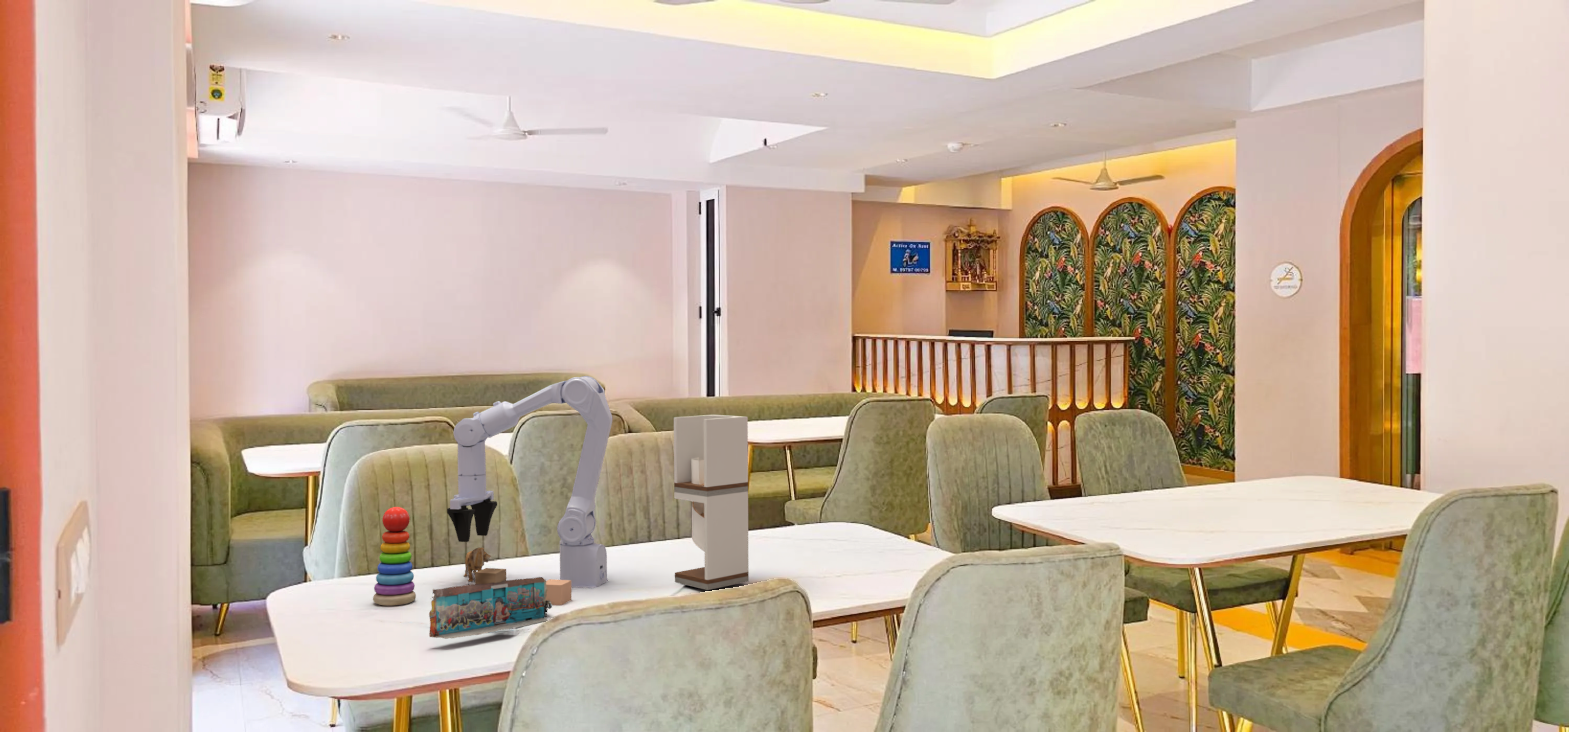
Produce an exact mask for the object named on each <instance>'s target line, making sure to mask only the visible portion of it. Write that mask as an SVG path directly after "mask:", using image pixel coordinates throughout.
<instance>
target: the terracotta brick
mask: <svg viewBox="0 0 1569 732" xmlns="http://www.w3.org/2000/svg"><path fill="white" fill-rule="evenodd" d="M546 587H547V588H546V590H548V591H547V593H546V599H545V601H546V600H550V601H551V604H552V606H554V605H555V606H563V605H564V604H567V603H568V602H570V601H572V587H571V580H560V579H552V578H551V579H548V580H546Z"/></svg>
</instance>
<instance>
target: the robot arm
mask: <svg viewBox="0 0 1569 732" xmlns="http://www.w3.org/2000/svg"><path fill="white" fill-rule="evenodd" d="M605 393H606V391H605V389H604V388H603V386H602V385H601V384H600V383H599V381H598V380H597V379H595V378H594V377H592V376H589V375H582V376H580V377H579V376H575V377H571V378H569V379H567V380H564V381H560V382H555V383H553V384H550V385H547V386H546V387H544V388H542V389H540V390H538V391H536V392H534V393H532V394H531V395H529V396H526V397H524V398H522V399H521V400H518V401H517V402H515V403H512V402H509V401H505V400H504V401H502V402H501V401H499V400H498V401H495V402H493V404H492V405H493V406H491V407H489V408H487V409H485V410H482V411H481V412H480V411H475V412H474V413H473V414H472V416H473V417H470V418H469V417H465V418H462V419H461V420H459V421H458V422H457V423H456V425H455V426H454V429H453V438H454V440H455V441H456V443H457V483H458V484H457V487H458V488H457V489H458V493H457V494H454V495H453V498H451V499H450V500H449V507H447V508H446V513H447V515H448V516H449V518H450V519H451V522H452V524H453V528H454V530H455V533H456V537H457V540H458V543H468V542H470V538H471V526H472V521H473V518H474V523H475V524H474V525H475V532H476V535H477V536H481V537H482V536H483V537H484V536H485V537H486V536H488V534H489V529H490V525H491V520H492V518H493V515H494V512H495V510H496V509H497V506H498V501H496V500H494V497H495V496H494V494H495V493H494V490H487V471H486V470H487V469H486V466H487V465H486V463H487V462H486V461H487V459H486V440H488V439H489V438H490V439H491V438H493V437H495V436H496V435H499V434H501V433H503V432H505V431H508V430H509V429H512V428H514V427H517V425H518V423H519V420H520V418H522V417H523V416H526V415H527V414H530V413H532V412H534V411H537V410H539V409H541V408H543V407H547V406H549V405H550V404H561V405H562V404H567V405H568V406H569V407H571V408H572V409H574V411H577V412H578V413H579V415H580V416H581V418H582V419H583V420H584V422H585V423H586V424H587V426H586V430H585V435H584V439H583V443H582V447H581V452H580V456H579V459H578V460H579V462H578V466H577V470H576V475H575V478H574V482H573V487H572V492H571V496H570V499H569V500H568V503H567V505H566V508H565V512H564V515H563V516H562V517H561V519H560V520H559V522H558V523H557V527H556V529H557V535H558V537H559V539H560V540H559V580H571V588H583V589H584V588H585V589H596V588H598V587H599V586H601V585H603V584H605V583H606V582H609V579H608V555H607V549H606V546H605V545H604V544H603V543H602V544H601V543H596V542H595V538H594V537H593V534H592V533H593V532H594V530H595V528H596V524H597V521H596V518H595V509H596V503H595V501H596V499H595V498H596V494H597V490H598V485H599V482H600V478H601V477H600V476H601V472H602V467H603V465H604V458H605V454H606V451H607V446H608V441H609V437H610V434H611V428H612V425H613V415H612V412H611V409H610V407H609V403H608V400H607V397H606V394H605ZM469 507H470V508H469Z"/></svg>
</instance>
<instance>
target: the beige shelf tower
mask: <svg viewBox="0 0 1569 732" xmlns="http://www.w3.org/2000/svg"><path fill="white" fill-rule="evenodd" d="M748 425H749V424H748V416H740V415H728V414H726V415H725V414H724V415H723V414H704V415H690V416H689V415H688V416H674V417H673V479H674V480H673V483H674V484H673V485H674V486H673V488H674V489H673V493H674V495H673V496H674V497H673V498H674V499H676V500H682V501H688V502H691V538H692V541H693V544H695V546H697V548H699V549H700V550H701V551H703V552H704V566H702V567H698V568H697V567H696V568H691V569H686V570H682V571H677V572H674V582H675V583H677V584H680V585H685V586H690V587H694V588H698V589H701V590H706V591H709V590H710V591H711V590H713V589H714V590H715V589H719V588H724V587H728V586H734V585H739V584H742V583H748V582H750V581H749V578H750V577H749V574H750V573H749V458H748V457H749V453H748V452H749V450H748V449H749V444H748V443H749V439H748V437H749V436H748V435H749V434H748V433H749V431H748V428H749V426H748Z"/></svg>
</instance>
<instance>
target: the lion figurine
mask: <svg viewBox="0 0 1569 732" xmlns="http://www.w3.org/2000/svg"><path fill="white" fill-rule="evenodd" d="M491 557H492V556H491V555H490V554H488V553H487V552H486V551H485V548H484V547H477V548H474V549H472V550H471V551H469V552H467V553H466V555H465V561H464V563H465V564H464V565H465V570H464V574H463V577H464V578H467V576H468V582H473V581H474V576H473V573H475V572H478V571H480V570H482V568H483V566H484V565H485V563H489V560H490V558H491Z"/></svg>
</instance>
